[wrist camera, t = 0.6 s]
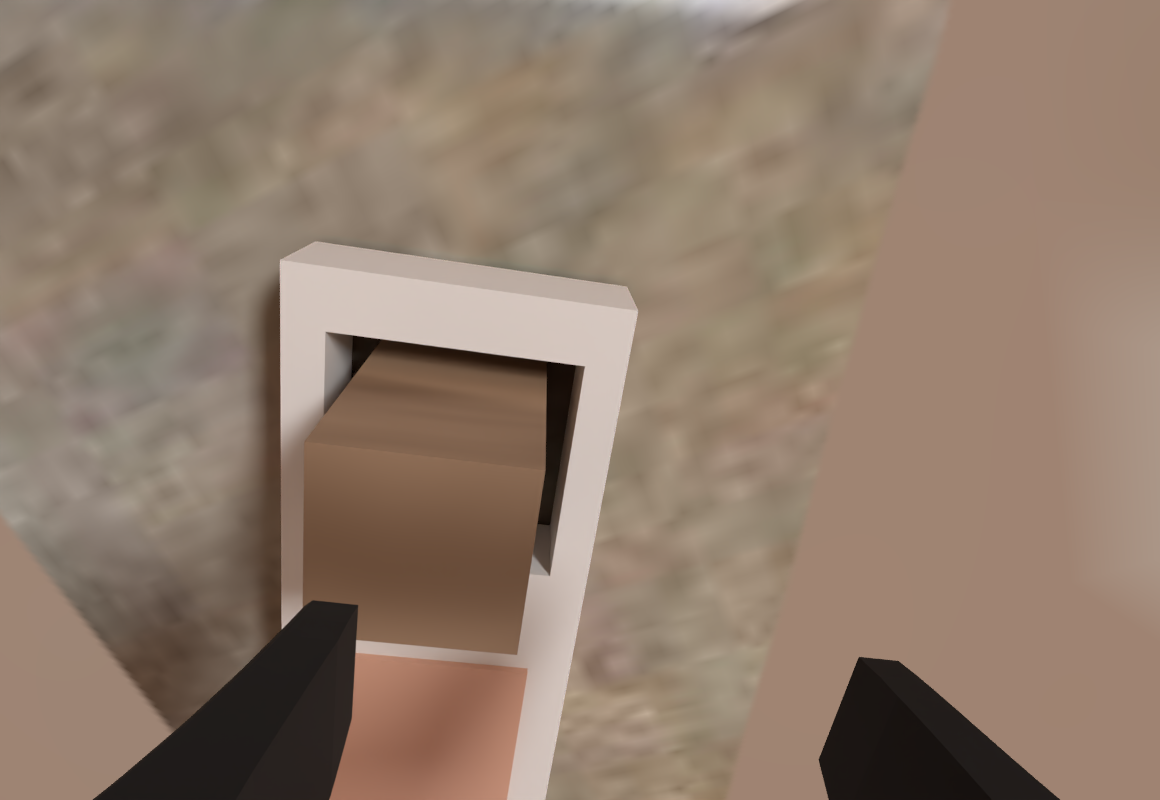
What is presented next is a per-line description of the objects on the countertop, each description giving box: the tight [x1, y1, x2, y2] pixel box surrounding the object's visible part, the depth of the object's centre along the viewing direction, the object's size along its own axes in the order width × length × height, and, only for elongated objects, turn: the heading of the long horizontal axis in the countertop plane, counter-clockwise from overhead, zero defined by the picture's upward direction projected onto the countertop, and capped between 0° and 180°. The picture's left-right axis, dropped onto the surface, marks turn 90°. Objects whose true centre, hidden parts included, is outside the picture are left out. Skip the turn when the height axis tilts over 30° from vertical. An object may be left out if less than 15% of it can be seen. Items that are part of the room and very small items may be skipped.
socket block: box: [280, 241, 638, 800], centre depth 20 cm, size 18×8×3 cm, turn 171°
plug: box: [303, 339, 547, 655], centre depth 17 cm, size 4×4×6 cm
